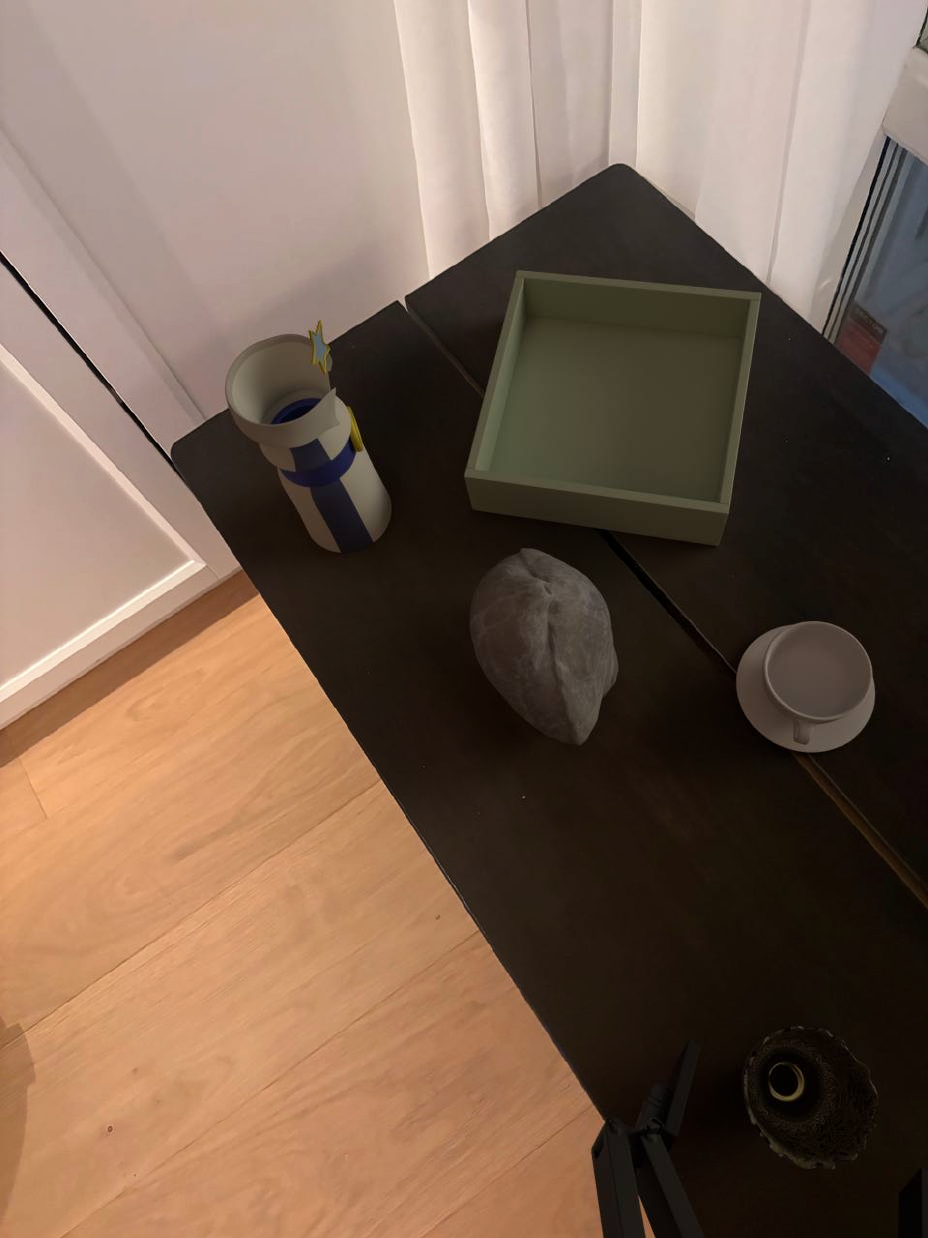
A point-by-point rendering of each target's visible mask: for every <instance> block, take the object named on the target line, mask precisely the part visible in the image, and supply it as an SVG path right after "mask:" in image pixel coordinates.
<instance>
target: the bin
mask: <svg viewBox="0 0 928 1238" xmlns="http://www.w3.org/2000/svg"><path fill="white" fill-rule="evenodd" d="M761 297H762V293H761V292H756V291H745V290H735V289H734V290H733V289H725V288H724V289H723V288H712V287H702V286H691V285H680V284H671V283H659V282H649V281H647V282H646V281H637V280H629V279H628V280H627V279H617V278H605V277H596V276H595V277H594V276H584V275H583V276H582V275H575V274H563V273H553V272H543V271H530V270H519V269H517V270H516V272H515V275H514V279H513V284H512V287H511V292H510V295H509V300H508V302H507V306H506V312H505V314H504V319H503V323H502V326H501V331H500V335H499V338H498V342H497V346H496V350H495V354H494V358H493V361H492V366H491V369H490V373H489V378H488V381H487V386H486V389H485V393H484V397H483V401H482V404H481V409H480V412H479V416H478V419H477V424H476V428H475V432H474V436H473V438H472V439H473V440H472V444H471V447H470V452H469V456H468V458H467V459H468V460H467V463H466V467H465V470H464V474H463V479H464V483H465V486H466V490H467V495H468V498H469V502H470V505H471V509H472V511H478V512H486V513H491V514H499V515H505V516H512V517H519V518H524V519H531V520H532V519H533V520H539V521H546V522H552V523H559V524H566V525H572V526H573V525H574V526H579V527H586V528H593V529H600V530H606V531H614V532H618V533H619V532H620V533H626V534H627V533H628V534H633V535H640V536H648V537H653V538H661V539H667V540H675V541H681V542H686V543H694V544H700V545H706V546H707V545H709V546H713V547H714V546H715V547H719V545H720V542H721V539H722V536H723V533H724V530H725V527H726V523H727V520H728V517H729V513H730V506H731V499H732V494H733V486H734V481H735V480H734V479H735V478H734V477H735V472H736V467H737V460H738V453H739V445H740V440H741V432H742V425H743V418H744V412H745V407H746V406H745V405H746V398H747V391H748V385H749V378H750V371H751V366H752V359H753V352H754V345H755V340H756V339H755V338H756V332H757V326H758V325H757V324H758V319H759V318H758V317H759V311H760V304H761Z"/></svg>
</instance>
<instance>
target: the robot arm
mask: <svg viewBox="0 0 928 1238" xmlns="http://www.w3.org/2000/svg"><path fill="white" fill-rule="evenodd" d="M701 1048H702V1045H700V1044H698V1043H697V1042H695V1041H693V1040H692V1039H688V1040H687V1043H686V1044H685V1046H684V1048H683V1050H682V1051H681V1053H680V1055H679V1057H678V1058H677V1060H676V1061H675V1064H674V1065H673V1067H672V1070H671V1074H670V1077H669V1082H668V1084H667V1086H664V1085H663V1084H662V1083H659V1082H658V1081H656V1082H655V1083H654V1084H653V1085H652V1086H651V1087H650V1089H649V1090H648V1092H647V1094H646V1096H645V1098H644V1100H643V1101H642V1105H641V1107H640V1111H639V1114H638V1118H637V1119H636V1120H637V1121H636V1123H635V1126H628V1125H626V1124H625V1123H624V1122H623V1121H622V1120H621V1119H620V1118H618V1117H616V1116H609V1117H608V1118H606V1120H605V1121H604V1123H603V1125H602V1126H601V1129H600V1130H599V1133H598V1134H597V1136H596V1138H595V1140H594V1142H593V1144H592V1146H591V1148H590V1153H591V1154H590V1155H591V1162H592V1169H593V1175H594V1176H593V1177H594V1183H595V1189H596V1197H597V1204H598V1211H599V1218H600V1224H601V1231H602V1238H647V1235H646V1230H645V1225H644V1218H643V1214H642V1208H643V1211H644V1213H645V1216H646V1218H647V1221H648V1223H649V1227H650V1228H651V1231H652V1233H653V1236H654V1238H706V1236H705V1235H704V1233H703V1232H704V1231H703V1230H702V1228H701V1225H700V1223H699V1221H698V1219H697V1216H696V1214H695V1212H694V1210H693V1207H692V1205H691V1203H690V1200H689V1198H688V1196H687V1193H686V1191H685V1189H684V1186H683V1185H682V1182H681V1180H680V1178H679V1175H678V1172H677V1171H676V1168H675V1166H674V1163H673V1160H672V1159H671V1157H670V1154H669V1152H670V1151H671V1149H672V1147H673V1145H674V1143H675V1142H676V1140H677V1139H678V1136H679V1132H680V1128H681V1125H682V1121H683V1117H684V1113H685V1109H686V1106H687V1102H688V1098H689V1095H690V1090H691V1086H692V1083H693V1078H694V1075H695V1072H696V1071H695V1070H696V1067H697V1063H698V1059H699V1055H700V1052H701ZM641 1207H642V1208H641ZM897 1218H898V1219H897V1220H898V1221H897V1223H898V1226H897V1238H928V1169H927V1168H925V1167H924V1166H921V1167H919V1169H918V1170H917V1171H916V1173H914V1175H913V1176H912V1177H911V1178H910V1180H908V1182H907V1183H906V1184H905V1185H904V1187H902V1189H901V1191H899V1193H898V1216H897Z"/></svg>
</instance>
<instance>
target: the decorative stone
mask: <svg viewBox="0 0 928 1238" xmlns="http://www.w3.org/2000/svg"><path fill="white" fill-rule="evenodd" d="M469 608H470V609H469V622H468V623H469V625H468V626H469V632H470V633H469V634H470V638H471V642H472V645H473V649H474V653H475V657H476V659H477V662H478V664H479V666H480V668H481V669H482V671H483V674H484V675H485V677H486V678H487V680H488V681H489V683H491V685H492V686H493V687H494V688H495V689H496V690H497V692H498V693H499V695H501V696H502V697H503V698H504V700H506V702H507V703H508V704H509V706H510V707H511V708H512V709H513V710H514V711H515V712H516V713H517V714H519V715H520V716H521V718H522V719H524V720H525V721H526V722H527V723H528V724H530V725H531V726H532V727H534V729H536V730H538V731H539V732H541V733H542V734H544V735H545V736H548V737H549V738H551V739H557V740H558V741H559V742H560V743H563V744H571V745H576V746H578V747H579V746H581V745H583V744H584V743H585V742H586V741H587V739H588V738H589V736H590V735H591V732H592V731H593V729H595V726H596V723H597V721H598V719H599V715H600V709H601V704H602V700H603V698H605V697H606V696H607V694H608V693H609V691H610V690H611V688H612V687H613V686H614V685H615V683H616V682H617V681H616V680H617V676H618V673H619V662H618V657H617V653H616V649H615V646H614V637H613V630H612V623H611V616H610V615H611V614H610V611H609V607H608V605H607V603H606V601H605V599H604V597H603V595H602V593H601V592H600V590H599V589H598V588H597V587H596V586H595V584H594V583H593V582H592V581H591V580H590V579H589V578H588V576H586V575H585V574H583V573H582V572H580V570H578V569H576V568H575V567H573V566H571V565H569V564H567V563H566V562H564V561H562V560H560V559H558V558H556V557H553V556H552V555H551V554H548V553H545V552H543V551H541V550H539V549H535V548H526V547H525V548H524V547H522V548H521V549H519V552H517V553H515V554H512V555H509V556H507V557H505V558H503V559H502V560H501V561H500V562H498V563H496V565H495V566H494V567H492V568H491V569H489V570H488V571H487V572H486V573H485V575H484V576H483V577H482V579H481V580H480V581H479V583H478V585H477V587H476V588H475V591H474V593H473V595H472V599H471V604H470V607H469Z"/></svg>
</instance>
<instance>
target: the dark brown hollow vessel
mask: <svg viewBox="0 0 928 1238" xmlns="http://www.w3.org/2000/svg"><path fill="white" fill-rule="evenodd" d="M778 1068H786V1069H789V1070H790V1071H791V1072H792V1073H793V1074H794V1076H795V1078H796V1086H795V1089H793V1091H791V1092H789V1093H781V1092H779V1091H778V1090H777V1089H776V1088H775V1087H774V1085H773V1082H772V1076H773V1073H774V1071H775V1070H776V1069H778ZM871 1075H872V1074H871V1071H870V1069H869V1067H868V1066H867V1065H866V1064H865V1062H861V1061H860V1060H858V1059H857V1057H856V1056H855V1055H854V1052H853V1051H852V1050H851V1049H849V1048H848V1047H847V1046H846V1042H845V1040H843V1039H841V1038H840V1037H838V1036H834V1035H833V1034H832V1032H830V1031H829V1030H827V1029H824V1028H821V1027H814V1026H813V1027H812V1026H811V1027H809V1026H802V1025H791V1026H790V1027H786V1028H782V1029H779V1030H776V1031H773V1032H770V1033H769V1034H767V1035H765V1036H763V1037H762V1038H761V1039H760V1040H758V1041H757V1042H756V1043H755V1045H754V1046H752V1048H751V1049H750V1051H749V1052H748V1054H747V1056H746V1058H745V1061H744V1063H743V1067H742V1074H741V1089H742V1096H743V1100H744V1101H743V1102H744V1104H745V1108H746V1112H747V1115H748V1118H749V1120H750V1123H751V1124H752V1125H753V1126H754V1128H755V1129H756V1131H757V1133H758V1134H759V1136H760V1137H761V1138H762V1139H763V1140H764V1141H765V1142H766V1144H767V1145H768V1148H769V1149H770V1150H771V1151H772V1152H773V1153H774V1154H776V1155H777V1156H779V1157H782V1158H784V1159H785V1160H787V1161H788V1162H789V1163H790V1164H793V1165H795V1166H796V1167H797V1168H798V1167H799V1168H801V1169H804V1170H810V1169H811V1170H812V1169H815V1168H818V1167H821V1168H823V1169H824V1170H827V1171H834V1170H835V1169H836V1162H839V1163H844V1164H848V1163H851V1162H853V1161H855V1160H856V1158H857V1157H858V1154H860V1153H861V1152H862V1151H864V1150H866V1148H867V1147H866V1146H867V1140H868V1133H872V1132H873V1130H874V1129H876V1127H877V1122H876V1120H875V1118H874V1115H875V1112H876V1110H877V1109H878V1105H879V1095H878V1091H877V1089H876V1087H875V1085H874V1082H873V1080H872V1079H871Z"/></svg>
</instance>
